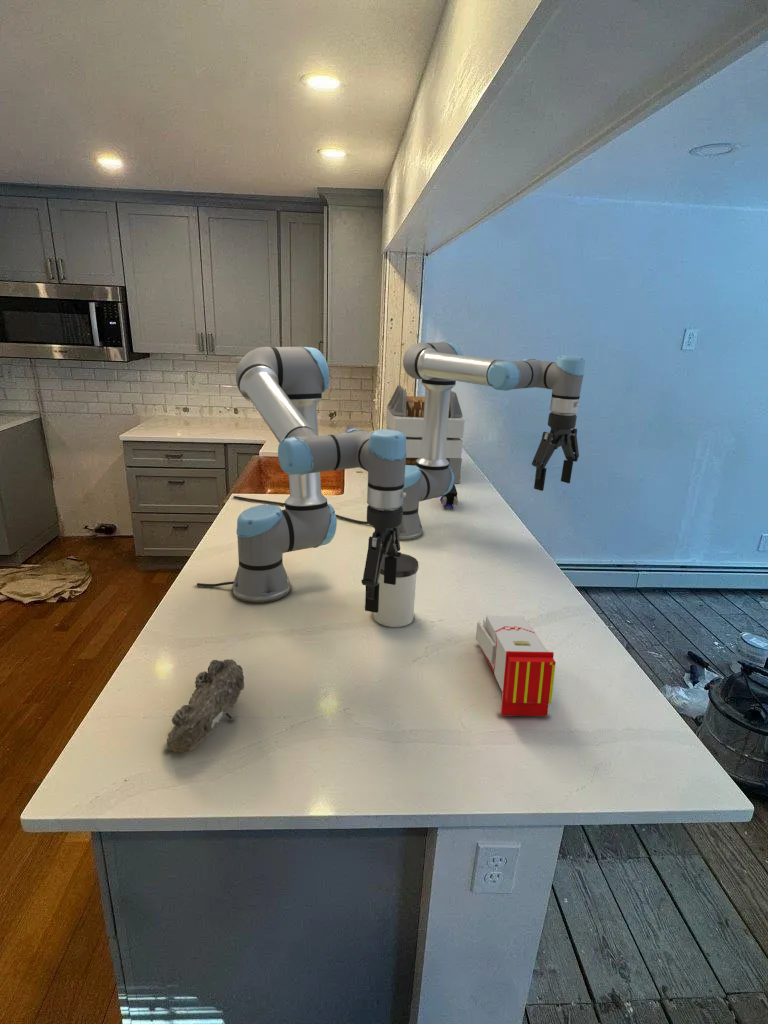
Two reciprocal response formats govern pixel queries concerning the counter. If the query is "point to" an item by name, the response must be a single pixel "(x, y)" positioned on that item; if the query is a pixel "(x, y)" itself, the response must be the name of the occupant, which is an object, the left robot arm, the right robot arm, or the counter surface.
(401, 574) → the lid
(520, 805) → the counter surface
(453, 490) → the figurine character
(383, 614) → the jar
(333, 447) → the left robot arm
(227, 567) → the counter surface
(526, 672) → the toy
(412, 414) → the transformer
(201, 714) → the fossil
